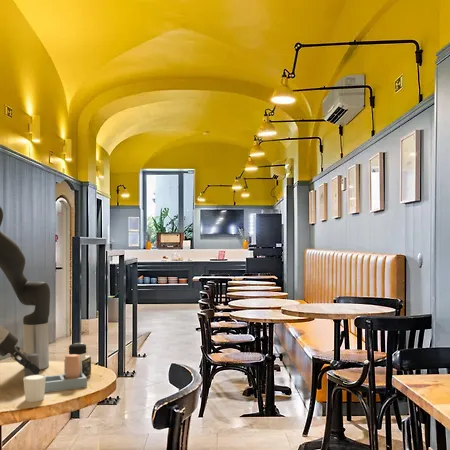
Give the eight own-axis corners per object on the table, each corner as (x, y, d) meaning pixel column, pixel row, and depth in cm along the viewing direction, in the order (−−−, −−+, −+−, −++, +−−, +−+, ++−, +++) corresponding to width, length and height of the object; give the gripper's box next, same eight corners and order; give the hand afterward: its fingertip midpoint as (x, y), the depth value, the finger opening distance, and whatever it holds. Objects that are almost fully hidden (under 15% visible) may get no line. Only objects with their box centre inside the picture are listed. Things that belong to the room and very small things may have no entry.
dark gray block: (24, 383, 201) (23, 354, 201) (38, 381, 203) (38, 353, 203) (25, 386, 197) (25, 357, 197) (40, 384, 199) (39, 355, 199)
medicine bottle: (82, 380, 204) (82, 346, 204) (64, 379, 206) (63, 345, 206) (91, 374, 211) (90, 342, 211) (73, 374, 212) (72, 341, 213)
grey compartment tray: (37, 385, 197) (37, 356, 197) (82, 380, 203) (81, 352, 203) (40, 392, 189) (40, 362, 189) (87, 386, 195) (86, 357, 195)
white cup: (50, 396, 184) (50, 375, 184) (37, 403, 178) (37, 380, 178) (32, 395, 187) (32, 373, 186) (18, 401, 180) (18, 379, 180)
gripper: (9, 334, 190) (48, 366, 195) (6, 327, 203) (43, 358, 208) (-8, 352, 188) (32, 384, 193) (-10, 344, 201) (27, 374, 206)
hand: (37, 370), depth 201 cm, fingers closed on dark gray block, 4 cm apart
